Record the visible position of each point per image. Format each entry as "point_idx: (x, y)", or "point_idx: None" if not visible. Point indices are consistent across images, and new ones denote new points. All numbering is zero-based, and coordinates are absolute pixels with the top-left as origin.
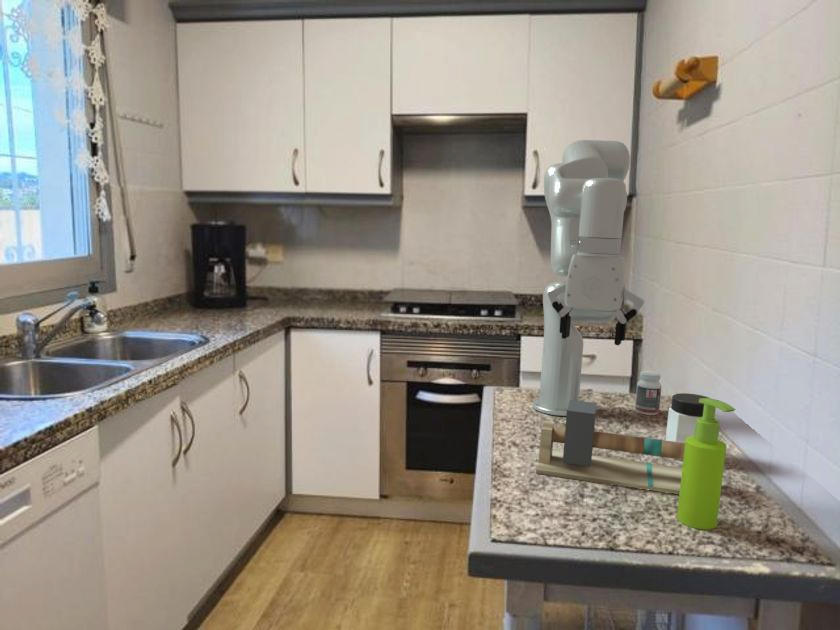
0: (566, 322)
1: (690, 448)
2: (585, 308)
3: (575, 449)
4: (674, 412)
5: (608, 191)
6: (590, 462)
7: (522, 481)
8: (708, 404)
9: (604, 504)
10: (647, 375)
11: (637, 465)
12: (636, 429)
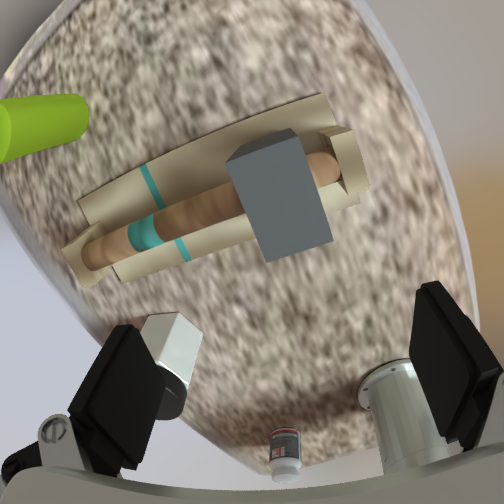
0: (460, 352)
1: (4, 101)
2: (317, 499)
3: (268, 137)
4: (171, 369)
5: None
6: (239, 146)
7: (323, 47)
8: None
9: (175, 60)
10: (285, 473)
11: (195, 237)
12: (272, 384)
